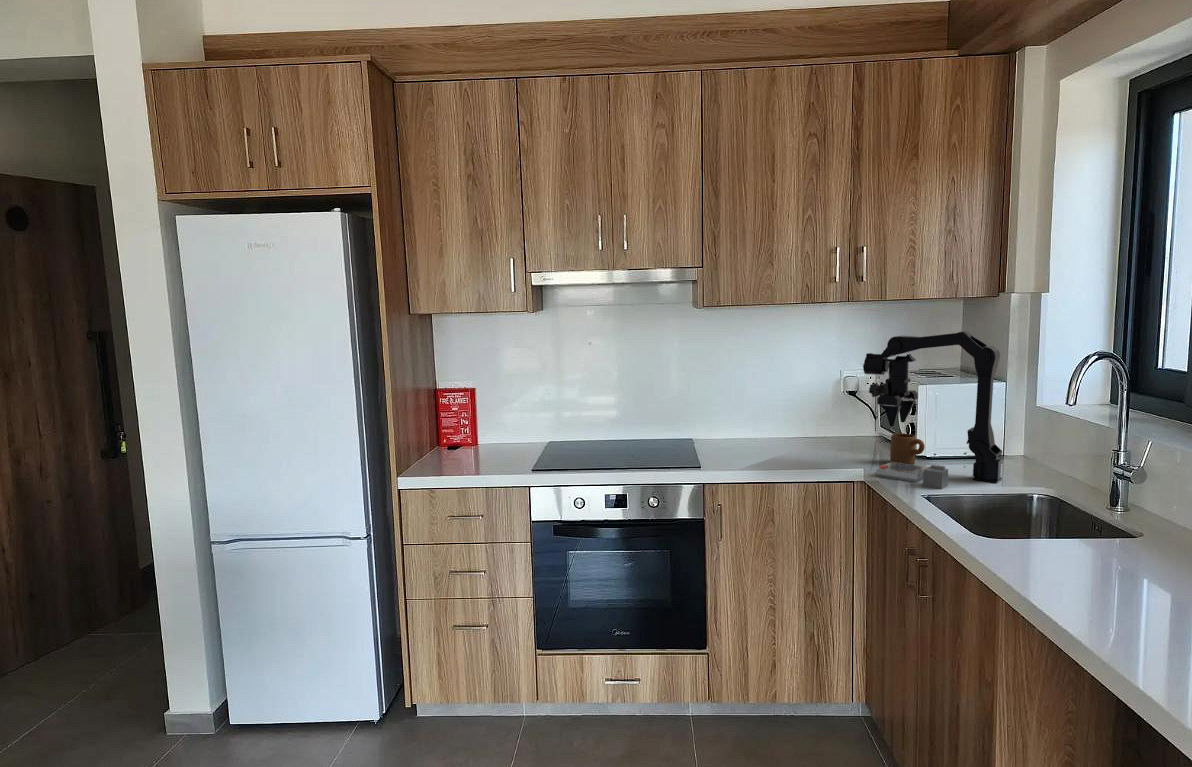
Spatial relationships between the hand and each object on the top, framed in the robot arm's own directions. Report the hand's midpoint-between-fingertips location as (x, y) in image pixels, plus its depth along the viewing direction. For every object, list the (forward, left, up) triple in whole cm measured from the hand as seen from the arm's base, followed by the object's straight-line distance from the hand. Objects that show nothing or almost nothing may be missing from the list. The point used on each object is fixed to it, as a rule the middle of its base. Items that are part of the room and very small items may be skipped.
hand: (897, 424), depth 236 cm
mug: (-2, -6, -14) cm, 16 cm away
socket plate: (-6, +9, -14) cm, 17 cm away
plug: (-17, +16, -14) cm, 27 cm away
